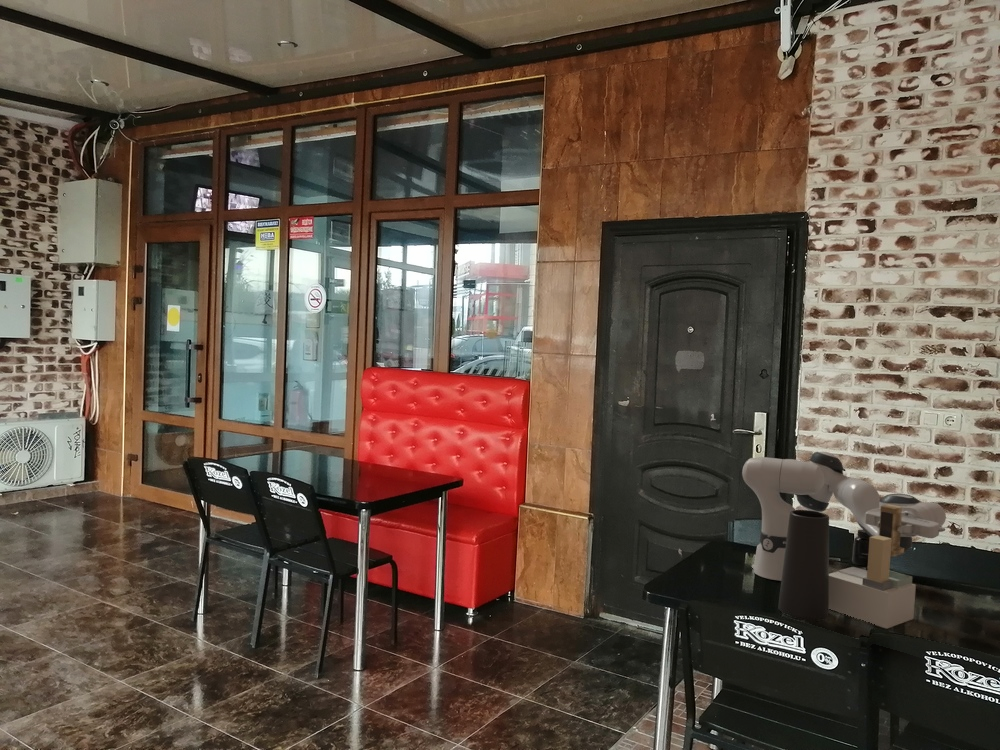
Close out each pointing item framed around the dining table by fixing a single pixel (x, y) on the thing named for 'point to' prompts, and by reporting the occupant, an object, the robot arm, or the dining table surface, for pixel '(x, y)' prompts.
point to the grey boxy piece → (873, 589)
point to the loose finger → (891, 526)
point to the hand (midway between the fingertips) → (888, 527)
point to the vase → (806, 566)
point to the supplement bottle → (861, 549)
